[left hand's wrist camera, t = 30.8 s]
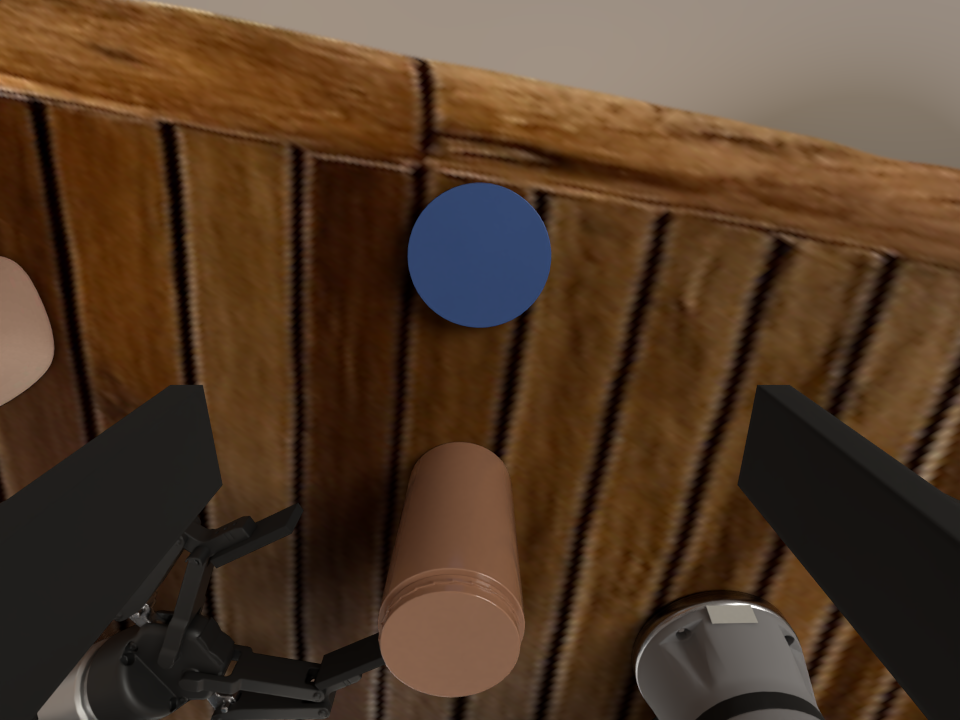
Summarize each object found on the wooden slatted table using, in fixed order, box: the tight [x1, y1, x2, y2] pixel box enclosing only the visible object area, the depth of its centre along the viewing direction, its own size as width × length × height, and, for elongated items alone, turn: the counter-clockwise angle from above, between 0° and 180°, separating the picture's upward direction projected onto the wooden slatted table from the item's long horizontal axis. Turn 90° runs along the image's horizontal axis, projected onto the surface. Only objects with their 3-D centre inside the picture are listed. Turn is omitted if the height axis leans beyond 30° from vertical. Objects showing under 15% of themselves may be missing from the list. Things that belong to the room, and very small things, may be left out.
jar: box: [378, 442, 525, 698], centre depth 37 cm, size 9×9×16 cm
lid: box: [408, 183, 551, 328], centre depth 37 cm, size 10×10×2 cm
